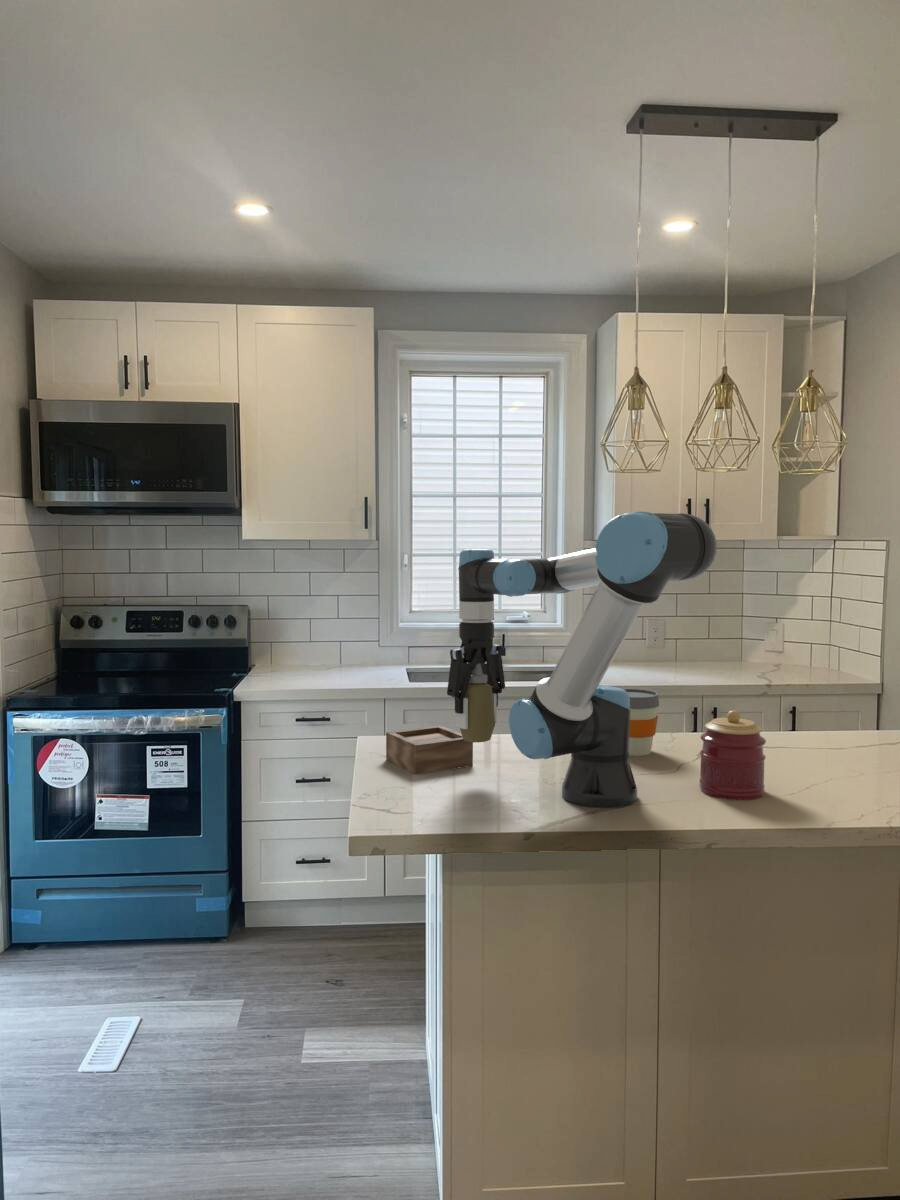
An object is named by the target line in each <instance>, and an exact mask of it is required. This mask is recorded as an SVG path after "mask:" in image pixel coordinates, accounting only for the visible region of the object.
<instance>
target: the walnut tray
mask: <svg viewBox="0 0 900 1200" xmlns="http://www.w3.org/2000/svg"><path fill="white" fill-rule="evenodd" d="M385 733H386V734H385V737H386V738H385V742H386V743H385V753H386V754H385V757H386V758H385V760H386V762H389V763H391V764H394V765H395V766H396V767H397V766H398V767H400V768H401V769H403V770H406V771H407V772H409V773H412V774H414V775H422V774H423V775H424V774H429V773H434V772H436V773H437V772H440V771H441V772H442V770H443V771H449V770H453V768H456V769H459V768H458V767H462V768H466V767H465V766H469V767H473V765H474V764H473V763H474V761H473V760H474V742H468V741H465V740H464V739H463V737H462V734H461V732H459V731H457V730H456V731H455V730H454V729H451V728H449V727H446V726H443V725H436V726H434V725H433V726H427V727H419V728H410V729H409V728H408V729H402V730H393V731H386V732H385ZM448 769H449V770H448Z"/></svg>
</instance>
